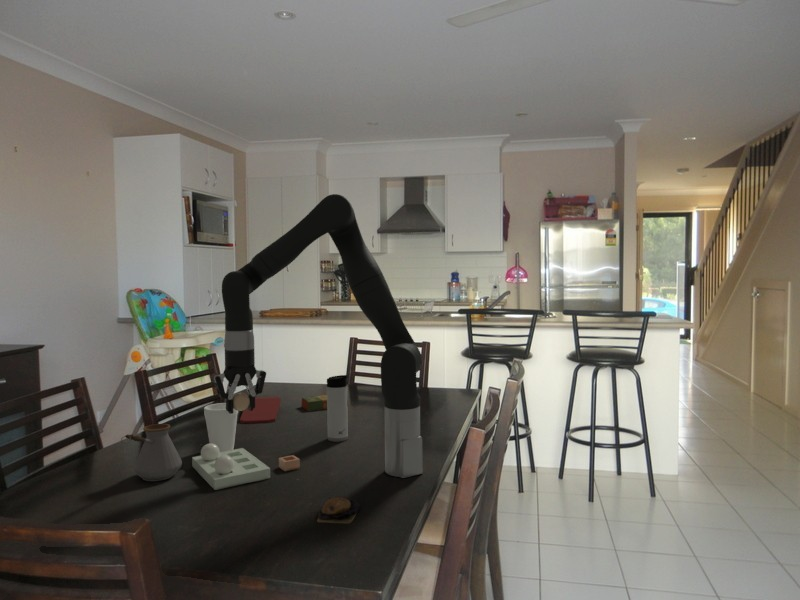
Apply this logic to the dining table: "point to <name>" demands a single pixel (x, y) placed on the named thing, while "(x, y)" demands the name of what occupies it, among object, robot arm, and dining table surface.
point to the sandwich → (338, 511)
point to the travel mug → (337, 408)
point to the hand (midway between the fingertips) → (240, 411)
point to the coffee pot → (156, 454)
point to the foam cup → (221, 426)
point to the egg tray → (242, 473)
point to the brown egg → (240, 401)
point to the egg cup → (289, 463)
